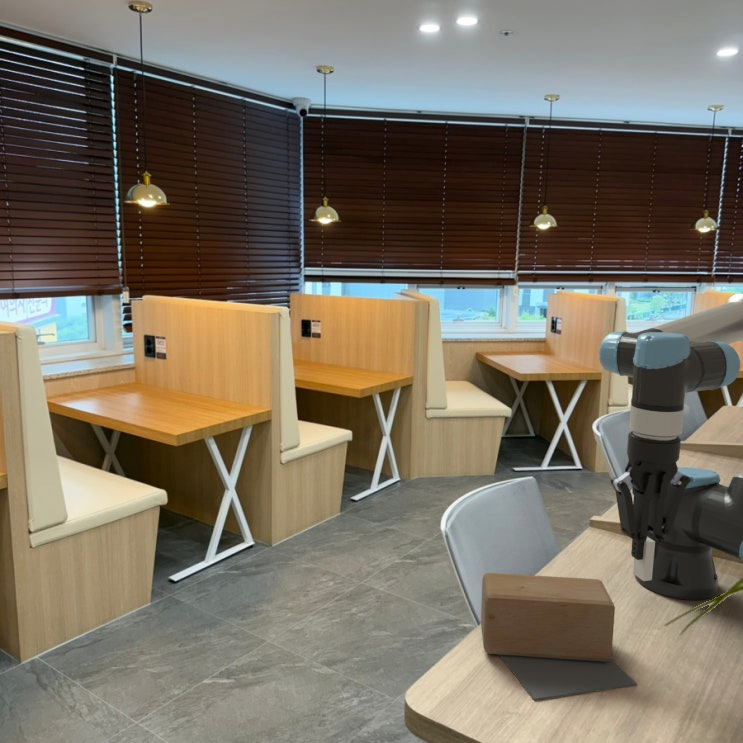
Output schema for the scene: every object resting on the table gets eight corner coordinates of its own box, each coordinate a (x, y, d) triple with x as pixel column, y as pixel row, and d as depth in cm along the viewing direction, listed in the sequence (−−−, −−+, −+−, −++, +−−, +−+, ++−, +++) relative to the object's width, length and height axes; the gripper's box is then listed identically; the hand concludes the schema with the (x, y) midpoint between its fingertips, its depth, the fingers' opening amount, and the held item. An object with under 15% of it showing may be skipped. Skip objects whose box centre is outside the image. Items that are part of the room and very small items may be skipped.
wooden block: (616, 604, 107) (486, 596, 109) (612, 664, 108) (483, 656, 110) (602, 577, 117) (482, 570, 118) (598, 632, 118) (480, 625, 120)
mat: (592, 642, 115) (592, 640, 115) (636, 685, 104) (636, 683, 104) (498, 654, 111) (498, 652, 111) (534, 700, 100) (534, 698, 100)
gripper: (674, 425, 111) (661, 562, 115) (603, 429, 108) (592, 570, 112) (707, 437, 104) (693, 583, 108) (632, 442, 101) (620, 592, 105)
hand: (642, 576), depth 110 cm, fingers closed
